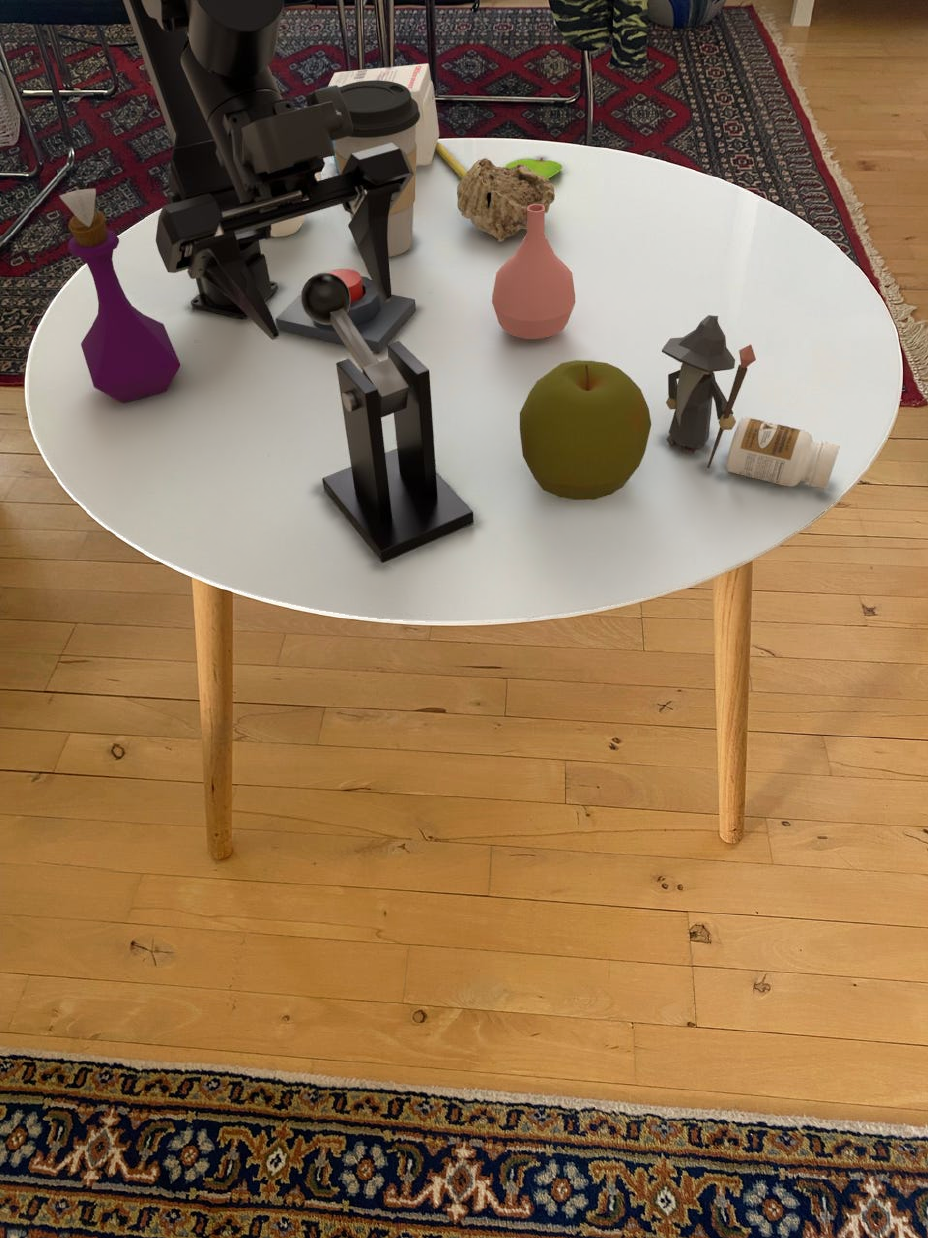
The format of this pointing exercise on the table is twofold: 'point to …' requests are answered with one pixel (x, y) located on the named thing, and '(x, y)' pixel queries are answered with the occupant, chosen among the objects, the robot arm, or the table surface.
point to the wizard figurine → (702, 384)
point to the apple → (584, 430)
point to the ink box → (420, 91)
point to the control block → (354, 318)
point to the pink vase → (534, 285)
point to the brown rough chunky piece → (501, 197)
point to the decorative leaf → (539, 166)
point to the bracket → (393, 465)
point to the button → (351, 282)
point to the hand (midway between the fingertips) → (333, 318)
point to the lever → (353, 338)
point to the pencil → (450, 160)
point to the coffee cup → (384, 142)
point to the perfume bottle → (117, 316)
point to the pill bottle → (780, 454)
